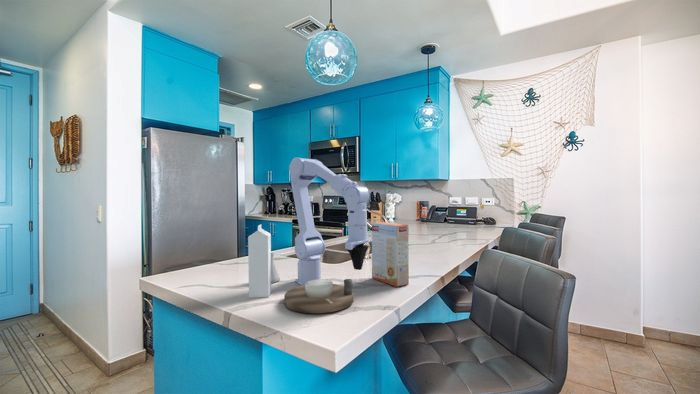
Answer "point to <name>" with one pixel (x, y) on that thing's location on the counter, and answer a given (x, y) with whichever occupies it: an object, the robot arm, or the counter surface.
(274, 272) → the flask
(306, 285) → the dish
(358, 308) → the counter surface
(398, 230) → the cracker box
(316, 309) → the turntable
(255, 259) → the milk
